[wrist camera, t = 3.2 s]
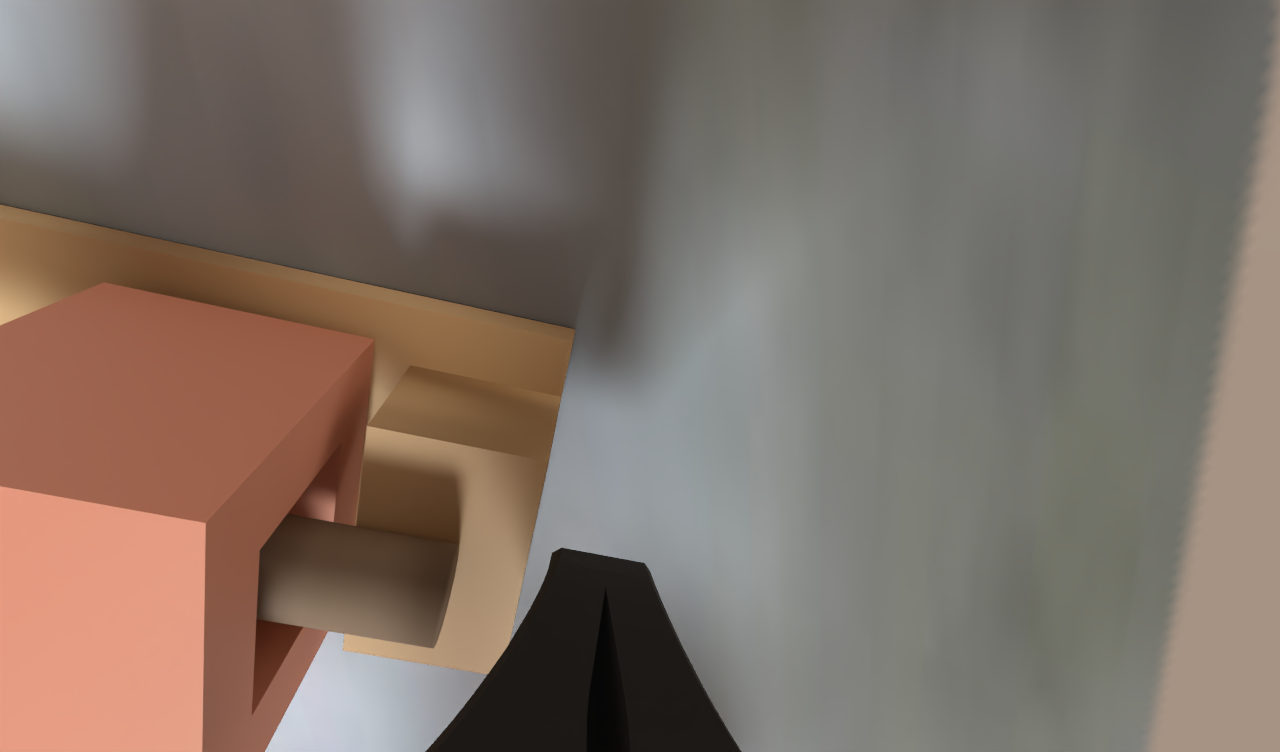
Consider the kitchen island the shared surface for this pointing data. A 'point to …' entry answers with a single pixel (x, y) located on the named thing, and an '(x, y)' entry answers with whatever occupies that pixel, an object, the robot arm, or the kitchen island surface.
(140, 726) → the slider
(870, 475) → the kitchen island surface
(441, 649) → the rail
